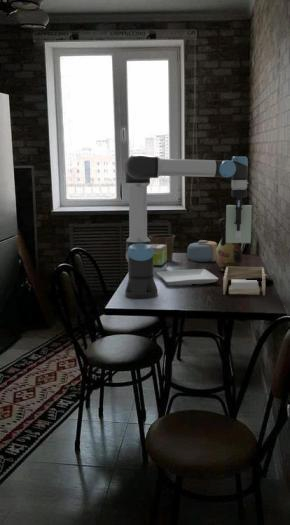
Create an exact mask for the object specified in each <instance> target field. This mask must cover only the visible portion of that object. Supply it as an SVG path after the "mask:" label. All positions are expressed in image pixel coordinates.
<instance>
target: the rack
mask: <svg viewBox="0 0 290 525" xmlns="http://www.w3.org/2000/svg"><path fill="white" fill-rule="evenodd" d="M245 277H262V281H261V289H262V291H261V292H262V296H266V274H265V267H264V266H239V267H226V270H225V271H224V276H223V278H222V280H223V282H222V286H223V287H222V291H223V292H222V294H223V295H226V293H227V288H228V284H229V283H228V282H229V281H231V279H243V278H245Z"/></svg>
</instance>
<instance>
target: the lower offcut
mask: <svg viewBox="0 0 290 525" xmlns="http://www.w3.org/2000/svg"><path fill="white" fill-rule="evenodd" d="M260 290H261V289H260V286H259V285H258V289H232V288H231V285H228V294H229V295H260Z"/></svg>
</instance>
